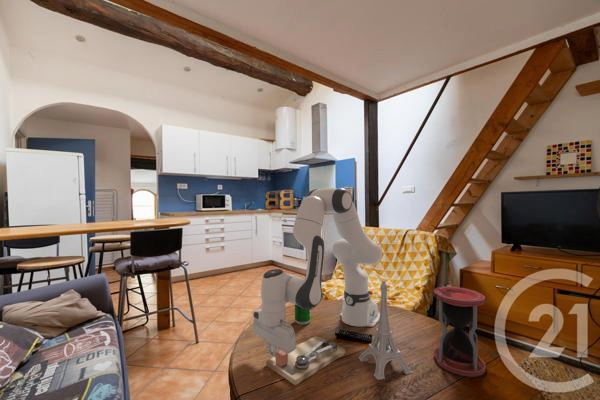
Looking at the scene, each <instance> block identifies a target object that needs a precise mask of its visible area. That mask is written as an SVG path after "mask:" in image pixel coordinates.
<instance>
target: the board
mask: <svg viewBox="0 0 600 400" xmlns="http://www.w3.org/2000/svg"><path fill="white" fill-rule="evenodd" d="M322 339H323V338H321V337H319V336H317V335H315V336H313V337H311V338H308V339H307V340H305V341H303V342H301V343H299V344H296V349H295V350H294V351H292V352H290V353H288V363H287V364H286V365H284V366H282V367H281V366H279V365H278V364H276V357H273V356H272V357H271V358H269V359H267V360H266V361H265V365H266V367H268V368H269V369H271V370H272V371H274V372H275V373H276V374H278V375H279V376H281V377H282V378H284V379H285V380H287V381H288V382H289V383H291V384H293V385H294V386H296V385H298V384H300V383H301V382H303V381H304V380H306V379H308V378H309V377H311V376H313V375H314V374H316V373H317V372H319V371H320V370H322V369H324V368H325V367H326V366H328V365H330V364H331V363H333V362H335V361H336V360H338V359H339V358H341V357H342V356H344V355H345V354H346V349H344V348H343V347H342V346H339V345H337V351H335V352H333V353H331V354H329V355H326V356H324V357H322V358H320V359H317V360H315V361H313V362H311V363H309V368H307V369H305V370H299V369H297V368H296V367H295V362H296V358H297V356H300V355H305V354H307V353H308V352H309V351H310V350H311V349H312V348H313V347H314V346H315V345H316V344H318V343H319V342H320V341H321V340H322ZM329 343H331V342H330V341H329ZM323 348H324V347H323ZM311 357H313V355H311V356H310V357H309V358H311ZM309 358H308V359H309Z"/></svg>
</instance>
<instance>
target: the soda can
mask: <svg viewBox="0 0 600 400" xmlns="http://www.w3.org/2000/svg"><path fill="white" fill-rule="evenodd" d="M294 322H295V323H296V324H297V325H301V326H304V325H305V326H306V325H308V324H309V323H310V322H311V310H305V309H303V308H301V307H299V306H298V305H296V304H294Z"/></svg>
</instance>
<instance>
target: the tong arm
mask: <svg viewBox="0 0 600 400" xmlns="http://www.w3.org/2000/svg"><path fill="white" fill-rule="evenodd" d="M329 342H330V341H329V340H328V339H326V338H322V340H321V341H320V342H319V343H318V344H316V345H315V346H314V347H313V348H312V349H311V350H310V351H309V352H308V353H307V354H305V355H300V356H297V358H296V363H297V364H298V365H306V364H307V363H308V358H309V357H310V356H311V355H313V356H315V355H316V351H318V350H320V349H322V348H323V347H324V348H325V347H327V346H328V344H329Z"/></svg>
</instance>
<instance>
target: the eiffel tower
mask: <svg viewBox="0 0 600 400" xmlns="http://www.w3.org/2000/svg"><path fill="white" fill-rule="evenodd" d="M379 286H380V288H379V291H380V309H379V312H380V316H379V321H378V322H377V323H378V326H377V328H376V329H375V330H376V333H375V335H374V338H373V340H372V341H371V343H369V344H368V347H367V348H366V349H365V350H364V351H363V353H362V354H361V355H359V356H358V357H357V358H358V359H359V361H360V362H362V363H363V362H368V361H369V357H371V356H373V357H374V360H375V371H374V374H373V376H374V377H375V379H376V380H377V381H380V380H384V379H386V377H385V368H386V366H387V363H388V362H390V361H396V362H398V365H400V370H401V371H402V372H403V373H404V374H405V375H409V374H413V373H414V371H412V370H411V368H410V367H409V366H408V364H407V363H406V361H405V359H404V358H403V356H402V355H401V353H402V351H400V350H399V349H397V346H396V344H395V341H394V339H393V338H394V337H393V336H392V334H393V331H391V326H390V321H389V311H388V309H389V308H388V298H387V297H388V296H387V295H388V291H389V289H388V285H387V284H386V280H384V279H383V280H382V281H381V284H380V285H379Z"/></svg>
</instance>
